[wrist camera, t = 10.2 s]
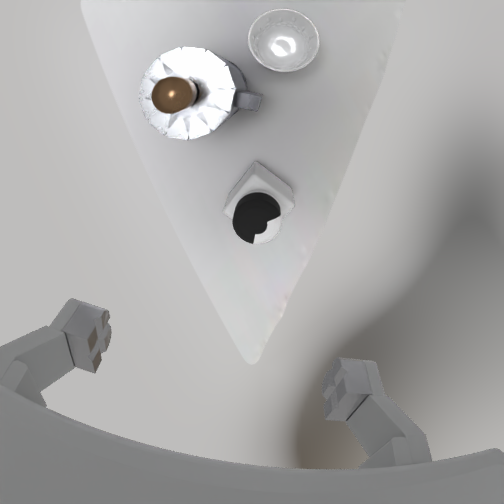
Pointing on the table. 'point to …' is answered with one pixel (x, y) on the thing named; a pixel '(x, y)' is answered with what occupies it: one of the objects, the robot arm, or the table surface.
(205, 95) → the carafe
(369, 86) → the table surface
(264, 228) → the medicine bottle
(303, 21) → the white cup
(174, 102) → the plunger
